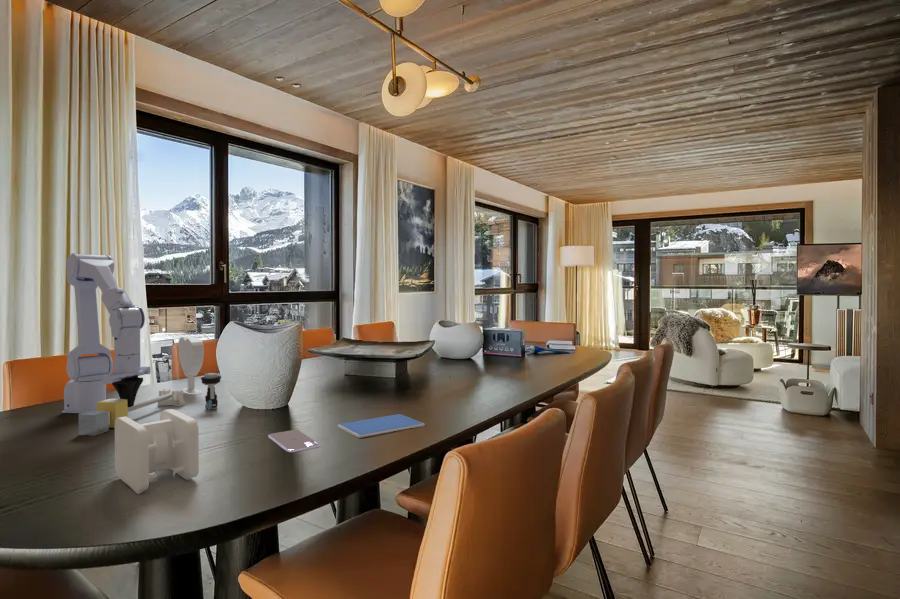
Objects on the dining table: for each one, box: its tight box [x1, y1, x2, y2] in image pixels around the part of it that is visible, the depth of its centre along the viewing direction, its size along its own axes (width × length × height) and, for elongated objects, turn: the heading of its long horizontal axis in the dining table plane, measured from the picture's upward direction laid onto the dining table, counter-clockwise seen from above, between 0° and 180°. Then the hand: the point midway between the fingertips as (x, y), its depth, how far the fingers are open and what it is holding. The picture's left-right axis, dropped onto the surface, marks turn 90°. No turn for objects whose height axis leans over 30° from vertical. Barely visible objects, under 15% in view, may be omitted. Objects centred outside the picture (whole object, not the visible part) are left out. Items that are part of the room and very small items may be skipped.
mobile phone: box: [268, 429, 321, 453], centre depth 118 cm, size 8×1×15 cm
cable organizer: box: [114, 408, 200, 495], centre depth 95 cm, size 15×11×12 cm
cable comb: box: [157, 388, 185, 407], centre depth 151 cm, size 7×2×4 cm, turn 84°
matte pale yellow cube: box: [97, 398, 129, 429], centre depth 129 cm, size 5×4×6 cm
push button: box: [200, 372, 222, 410], centre depth 148 cm, size 7×5×10 cm
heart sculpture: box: [177, 336, 205, 393], centre depth 171 cm, size 16×5×18 cm, turn 43°
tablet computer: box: [337, 413, 426, 439], centre depth 132 cm, size 19×13×1 cm, turn 128°
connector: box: [77, 410, 110, 437], centre depth 124 cm, size 4×5×5 cm
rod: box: [110, 391, 172, 418], centre depth 139 cm, size 1×27×1 cm, turn 174°
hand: (128, 406), depth 132 cm, fingers closed
